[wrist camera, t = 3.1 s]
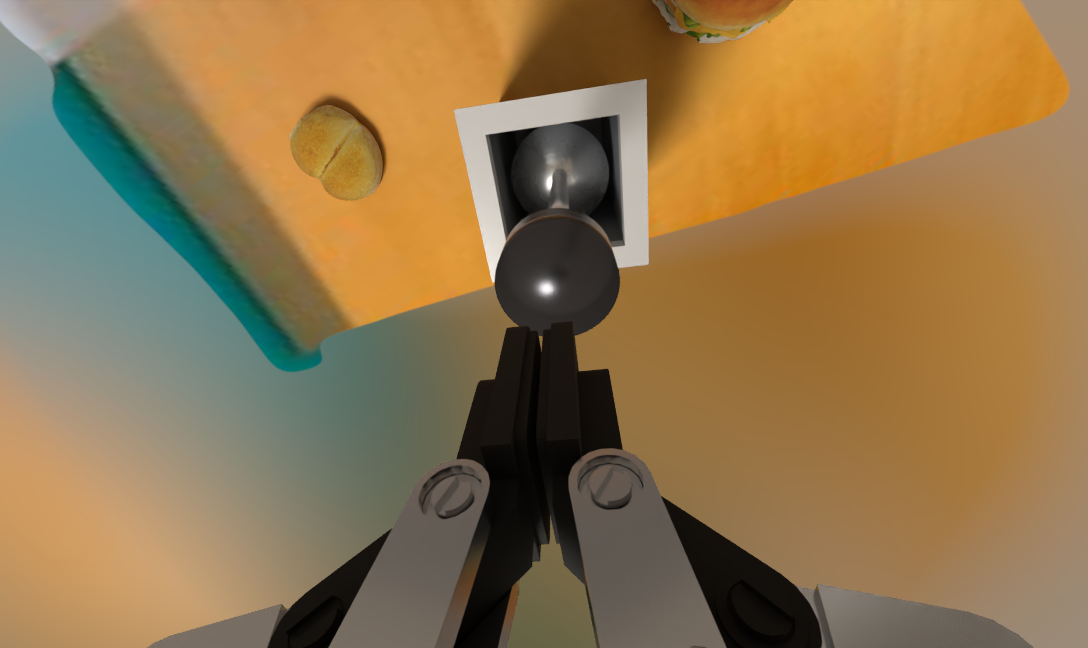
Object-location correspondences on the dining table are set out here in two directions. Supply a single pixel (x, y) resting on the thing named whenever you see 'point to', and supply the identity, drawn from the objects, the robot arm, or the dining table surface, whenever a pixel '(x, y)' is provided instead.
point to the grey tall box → (599, 110)
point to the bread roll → (337, 153)
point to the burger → (718, 17)
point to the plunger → (558, 234)
